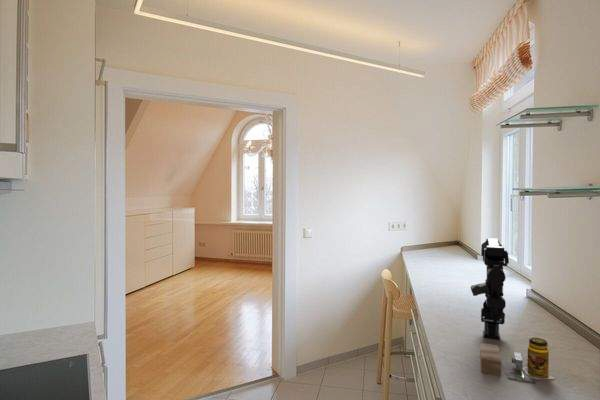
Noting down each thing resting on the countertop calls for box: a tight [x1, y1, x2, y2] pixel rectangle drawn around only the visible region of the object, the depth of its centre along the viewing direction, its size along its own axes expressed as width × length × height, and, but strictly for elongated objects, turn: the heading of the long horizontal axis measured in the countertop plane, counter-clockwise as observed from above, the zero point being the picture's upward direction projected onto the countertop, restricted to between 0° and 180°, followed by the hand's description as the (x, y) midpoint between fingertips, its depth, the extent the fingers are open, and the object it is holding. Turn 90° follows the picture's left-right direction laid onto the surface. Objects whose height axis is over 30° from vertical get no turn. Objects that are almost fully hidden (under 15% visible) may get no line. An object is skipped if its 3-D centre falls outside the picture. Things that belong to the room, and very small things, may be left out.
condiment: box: [522, 337, 556, 380], centre depth 128 cm, size 7×8×12 cm
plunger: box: [510, 351, 524, 379], centre depth 129 cm, size 11×3×4 cm, turn 156°
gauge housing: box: [479, 342, 537, 384], centre depth 131 cm, size 15×16×5 cm
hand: (494, 317), depth 146 cm, fingers open, 9 cm apart
